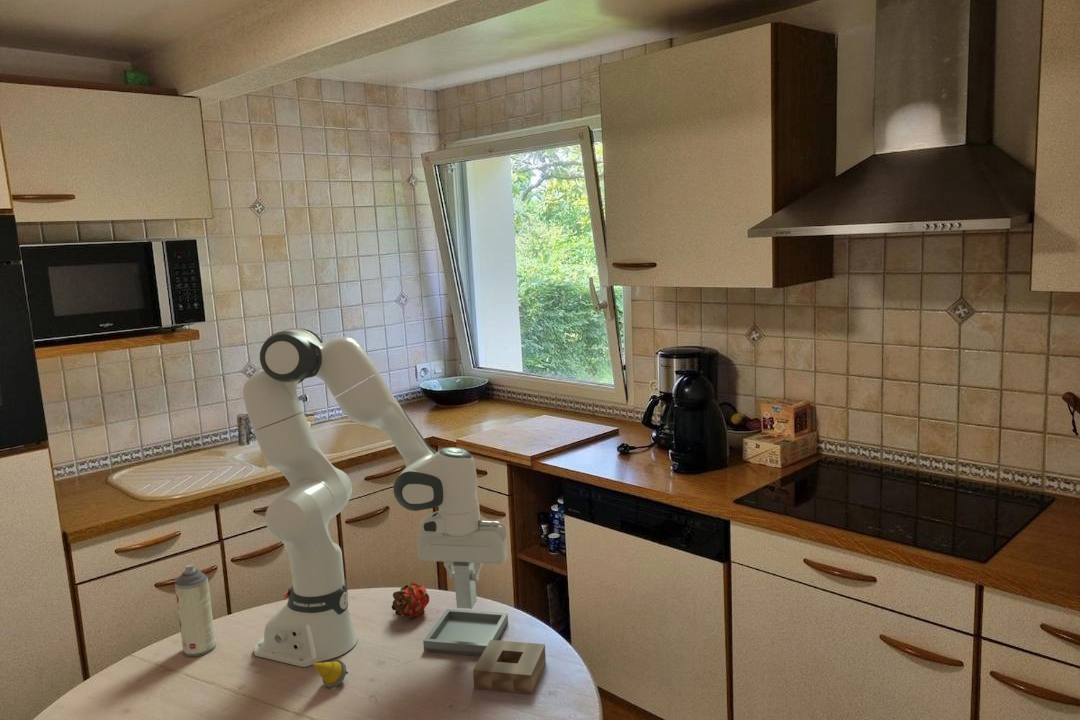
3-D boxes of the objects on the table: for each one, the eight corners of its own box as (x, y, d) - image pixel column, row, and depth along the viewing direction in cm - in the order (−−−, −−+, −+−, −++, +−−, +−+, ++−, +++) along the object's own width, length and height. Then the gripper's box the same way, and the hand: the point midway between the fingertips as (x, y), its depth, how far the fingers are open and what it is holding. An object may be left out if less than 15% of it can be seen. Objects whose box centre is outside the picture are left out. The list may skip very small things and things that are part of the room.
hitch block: (474, 688, 159) (472, 670, 159) (491, 657, 171) (490, 639, 170) (532, 694, 156) (531, 675, 156) (545, 661, 168) (544, 644, 167)
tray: (424, 651, 174) (423, 640, 174) (447, 618, 189) (446, 608, 188) (489, 656, 171) (488, 646, 170) (508, 623, 185) (507, 613, 185)
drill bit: (354, 686, 163) (322, 672, 156) (333, 695, 164) (301, 681, 157) (355, 661, 166) (323, 646, 160) (334, 669, 168) (302, 655, 161)
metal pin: (456, 607, 177) (453, 561, 176) (461, 600, 181) (458, 554, 179) (471, 608, 177) (468, 561, 175) (476, 601, 180) (473, 555, 178)
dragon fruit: (400, 634, 186) (416, 617, 198) (428, 613, 185) (442, 597, 196) (379, 604, 186) (396, 589, 198) (407, 583, 185) (422, 569, 197)
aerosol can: (190, 642, 183) (180, 560, 180) (220, 640, 183) (210, 558, 180) (178, 657, 176) (167, 573, 173) (209, 656, 177) (198, 571, 173)
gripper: (509, 516, 176) (513, 575, 178) (422, 514, 181) (427, 571, 183) (501, 526, 170) (505, 587, 172) (412, 524, 175) (417, 583, 177)
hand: (464, 579), depth 178 cm, fingers closed on metal pin, 3 cm apart
